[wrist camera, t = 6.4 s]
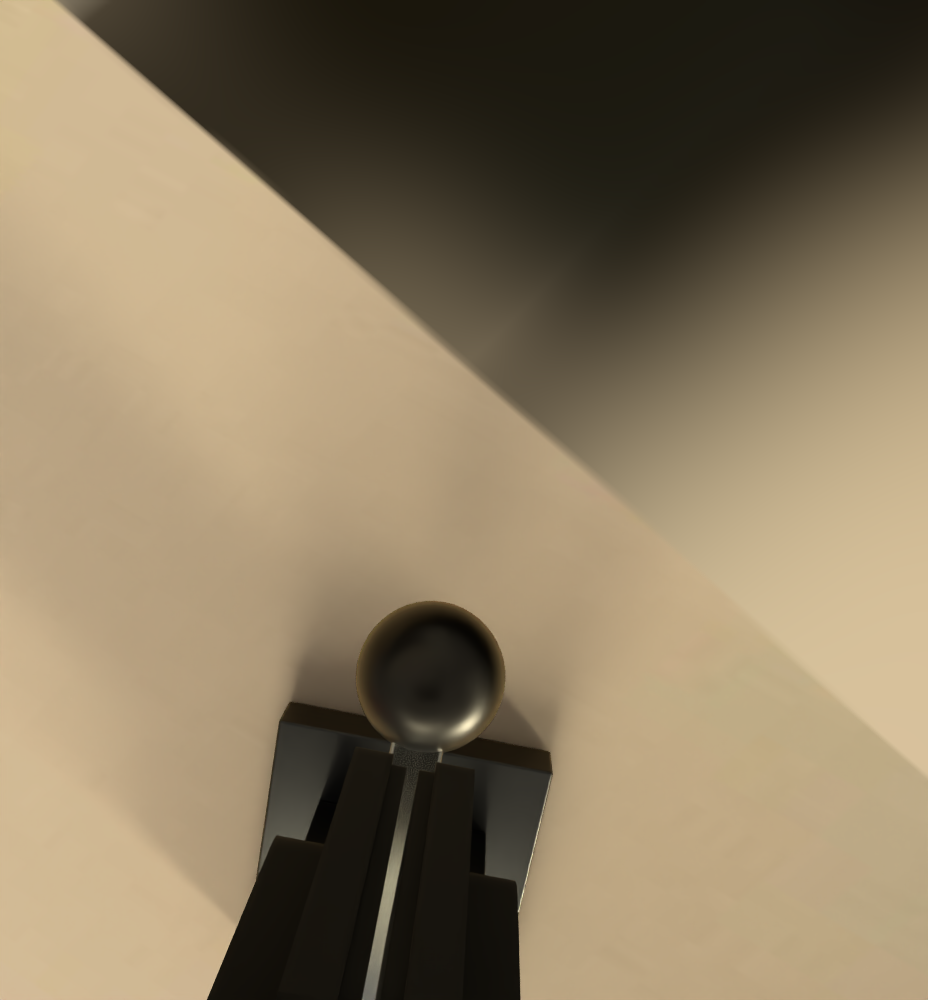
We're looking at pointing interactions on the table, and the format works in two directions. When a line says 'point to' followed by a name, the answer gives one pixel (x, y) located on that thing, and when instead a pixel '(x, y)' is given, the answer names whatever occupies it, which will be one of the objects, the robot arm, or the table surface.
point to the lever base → (334, 735)
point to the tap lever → (424, 707)
